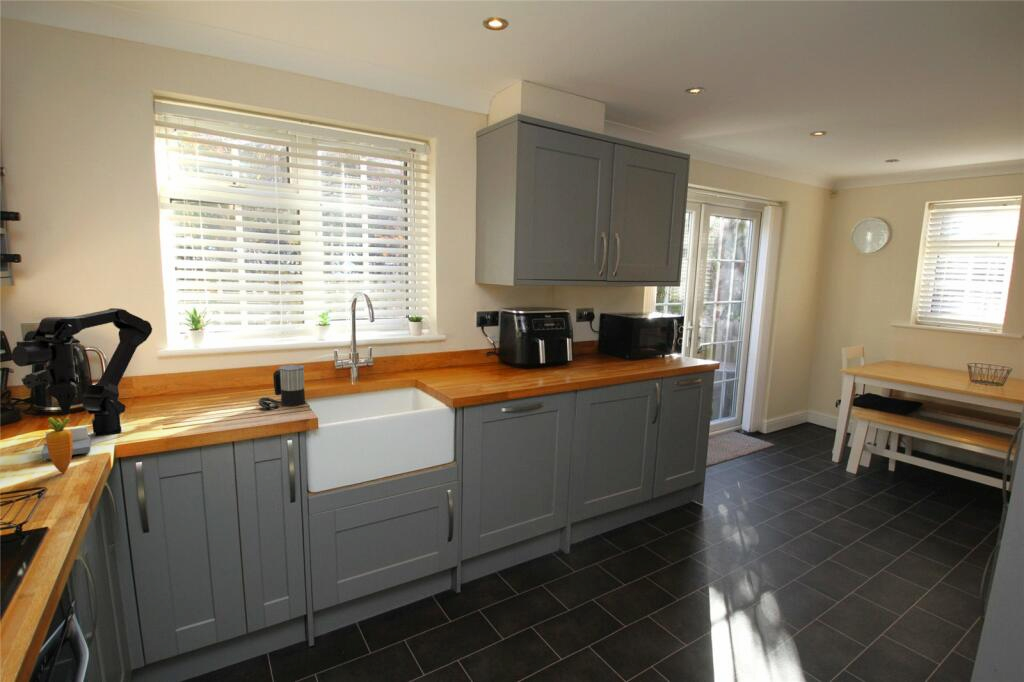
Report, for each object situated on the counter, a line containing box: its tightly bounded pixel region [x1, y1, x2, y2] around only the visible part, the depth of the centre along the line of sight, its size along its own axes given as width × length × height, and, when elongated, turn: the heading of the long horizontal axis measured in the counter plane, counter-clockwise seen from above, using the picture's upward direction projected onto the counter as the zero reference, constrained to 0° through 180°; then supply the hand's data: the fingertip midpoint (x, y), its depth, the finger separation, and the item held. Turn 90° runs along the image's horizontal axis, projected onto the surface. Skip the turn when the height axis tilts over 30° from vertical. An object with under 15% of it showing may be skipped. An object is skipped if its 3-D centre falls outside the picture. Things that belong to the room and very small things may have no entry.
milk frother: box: [258, 364, 307, 410], centre depth 194 cm, size 14×16×15 cm
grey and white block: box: [40, 425, 92, 461], centre depth 141 cm, size 10×10×6 cm
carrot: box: [45, 417, 73, 474], centre depth 127 cm, size 5×5×15 cm
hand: (66, 412), depth 147 cm, fingers open, 4 cm apart
